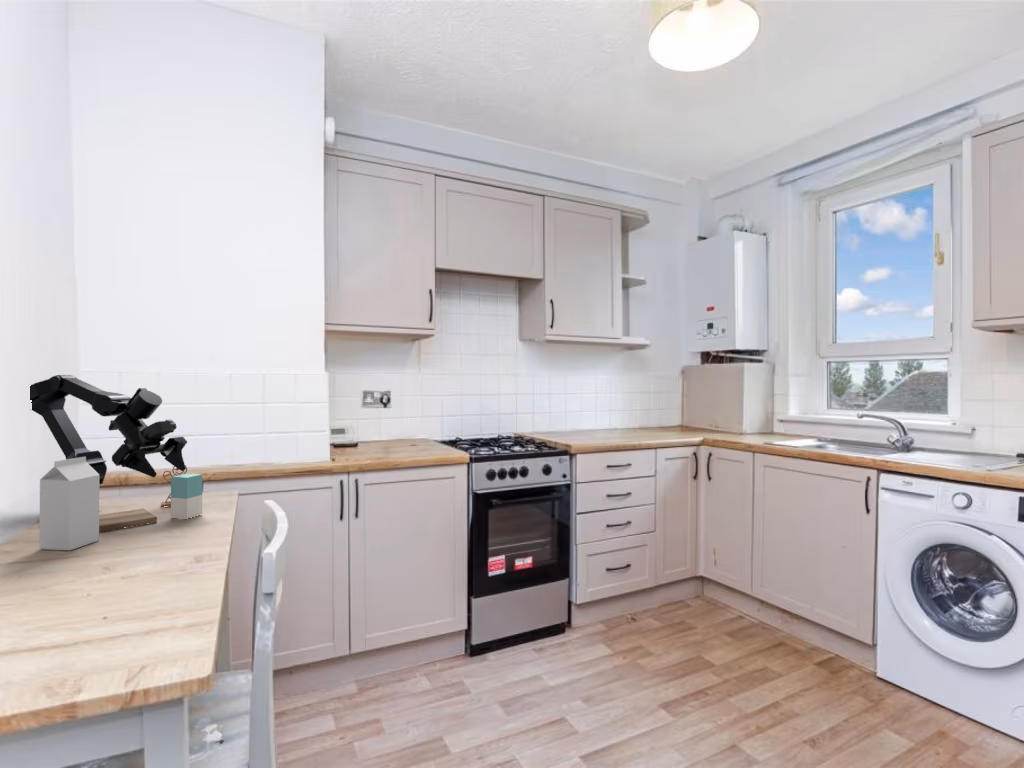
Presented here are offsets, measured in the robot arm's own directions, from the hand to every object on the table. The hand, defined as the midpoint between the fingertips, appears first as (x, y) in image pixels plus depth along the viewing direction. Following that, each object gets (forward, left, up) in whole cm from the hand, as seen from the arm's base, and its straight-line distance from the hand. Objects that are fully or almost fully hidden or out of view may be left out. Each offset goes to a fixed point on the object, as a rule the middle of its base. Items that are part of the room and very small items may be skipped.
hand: (170, 472), depth 138 cm
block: (+5, +3, -11) cm, 13 cm away
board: (0, -10, -11) cm, 15 cm away
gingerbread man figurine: (-11, +6, -12) cm, 17 cm away
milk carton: (+13, -22, -12) cm, 28 cm away
